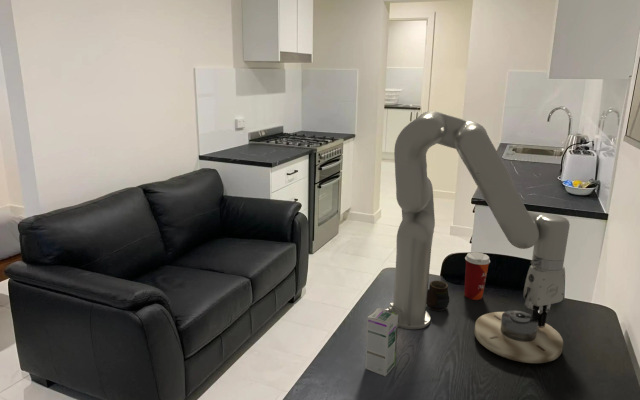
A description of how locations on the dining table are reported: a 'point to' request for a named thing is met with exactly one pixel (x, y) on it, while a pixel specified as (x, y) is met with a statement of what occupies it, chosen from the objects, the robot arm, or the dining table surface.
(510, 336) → the cover
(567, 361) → the dining table surface
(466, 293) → the paper cup
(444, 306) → the mate gourd
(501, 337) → the turntable
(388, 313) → the syrup box
